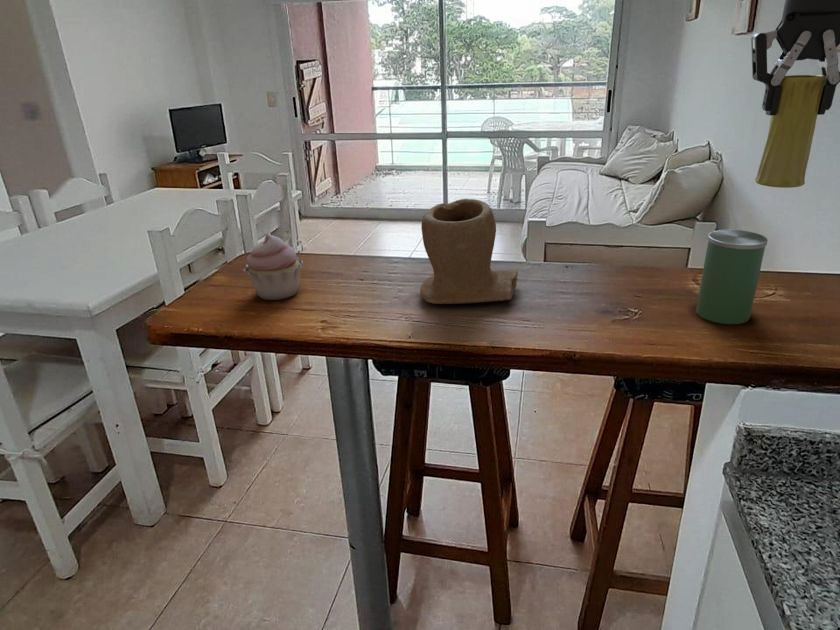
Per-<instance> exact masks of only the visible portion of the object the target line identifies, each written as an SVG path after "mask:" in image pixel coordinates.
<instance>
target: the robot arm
mask: <svg viewBox="0 0 840 630" xmlns="http://www.w3.org/2000/svg"><path fill="white" fill-rule="evenodd" d="M774 40H776V41H777V43H778V45H779V47H780V49H781V52H780V53H779V54H778V57H777V59H776V60H775V62H774V64H773V67H772V69H771V71H770V72H768V52H767V51H768V50H769V49H770V48H771V47H772V45H773V42H774ZM750 43H751V45H750V46H751V75H752V80H754V81H756V82H759V83H763V84H764V86H765V89H764V93H763V100H762V105H761V108H762V111H765V115H767V116H772V115H775V114H776V110H777V105H778V101H779V96H780V91H781V86H779V84H780V83H781V81H782V80H783V78H784V76H787V73H788V72H789V70H790V69H792V67H793V65H794V64H795V62H796V61H806V60H815V61H817V66H818V67H819V70H820V75H825V76H826V77H825V83H824V87H823V91H822V96H821V100H820V105H819V109H818V114H817V116H823V115H825V114H826V111H829V110H830V109H831V107H832V105H833V100H834V97H835V93H836V89H837V85H839V83H840V69H839V57H838V51H837V48H838V47H839V46H840V0H784V4H783V10H782V15H781V20H780V22H779V23H778V25H777V26H776V28H775V30H771V31H770V30H769V31H766V32H757V33H754V34H753V35H752V36H751V39H750Z"/></svg>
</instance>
